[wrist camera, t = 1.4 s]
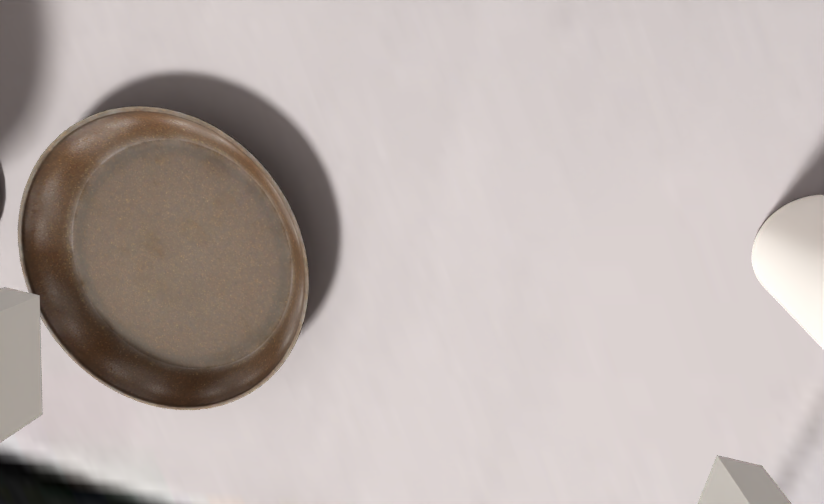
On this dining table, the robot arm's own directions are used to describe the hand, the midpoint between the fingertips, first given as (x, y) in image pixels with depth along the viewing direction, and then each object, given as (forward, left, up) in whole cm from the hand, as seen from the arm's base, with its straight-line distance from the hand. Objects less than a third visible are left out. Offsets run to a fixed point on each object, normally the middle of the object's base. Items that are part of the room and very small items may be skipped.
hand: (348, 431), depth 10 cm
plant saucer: (+8, -17, -25) cm, 31 cm away
